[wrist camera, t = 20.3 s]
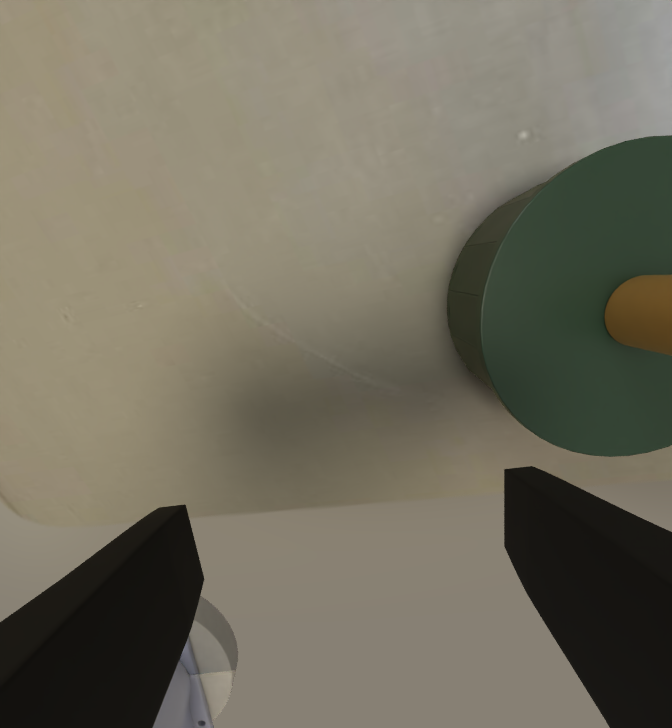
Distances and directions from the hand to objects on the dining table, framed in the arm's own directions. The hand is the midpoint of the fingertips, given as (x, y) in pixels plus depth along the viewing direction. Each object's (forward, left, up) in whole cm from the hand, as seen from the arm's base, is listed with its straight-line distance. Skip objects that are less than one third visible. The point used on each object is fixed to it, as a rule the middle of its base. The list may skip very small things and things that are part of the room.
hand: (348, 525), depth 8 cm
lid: (+3, -11, -6) cm, 12 cm away
